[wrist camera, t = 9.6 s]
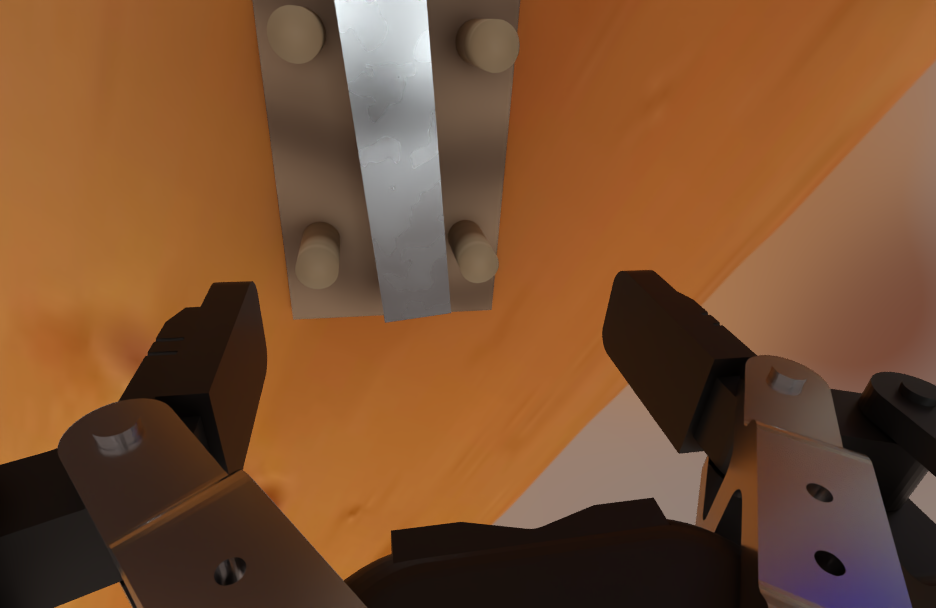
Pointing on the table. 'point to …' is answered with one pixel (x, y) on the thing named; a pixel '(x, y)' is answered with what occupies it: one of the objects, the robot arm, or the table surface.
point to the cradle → (337, 159)
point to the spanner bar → (398, 150)
